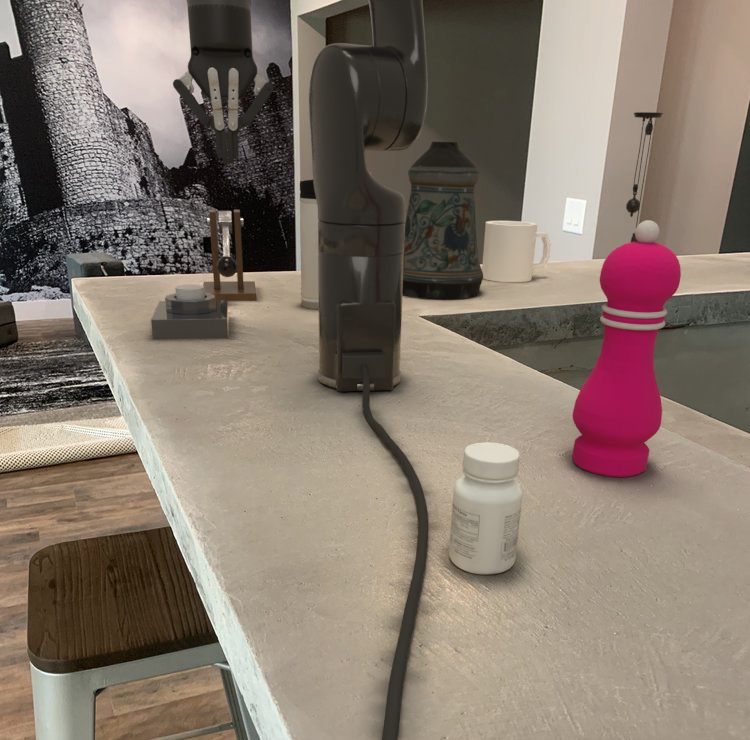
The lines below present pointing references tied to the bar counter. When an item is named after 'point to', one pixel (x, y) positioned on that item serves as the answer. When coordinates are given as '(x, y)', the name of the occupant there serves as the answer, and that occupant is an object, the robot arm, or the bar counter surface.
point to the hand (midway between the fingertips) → (228, 162)
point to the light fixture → (633, 203)
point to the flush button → (190, 292)
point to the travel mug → (309, 245)
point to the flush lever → (226, 245)
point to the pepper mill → (626, 359)
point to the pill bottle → (486, 509)
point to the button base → (190, 318)
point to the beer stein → (441, 226)
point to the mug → (512, 251)
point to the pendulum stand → (237, 288)
